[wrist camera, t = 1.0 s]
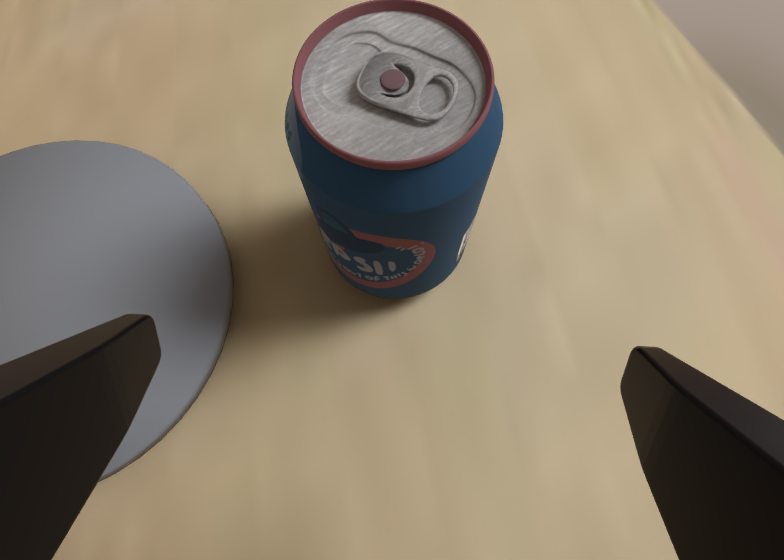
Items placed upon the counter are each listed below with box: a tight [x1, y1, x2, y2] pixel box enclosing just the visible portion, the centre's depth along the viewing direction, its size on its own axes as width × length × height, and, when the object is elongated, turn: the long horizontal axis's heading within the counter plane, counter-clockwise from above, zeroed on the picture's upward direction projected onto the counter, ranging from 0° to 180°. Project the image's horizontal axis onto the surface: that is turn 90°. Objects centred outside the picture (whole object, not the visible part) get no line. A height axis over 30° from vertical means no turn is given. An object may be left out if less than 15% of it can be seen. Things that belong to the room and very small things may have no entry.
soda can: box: [285, 0, 503, 298], centre depth 19 cm, size 7×7×12 cm
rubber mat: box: [0, 140, 233, 482], centre depth 24 cm, size 18×18×1 cm
